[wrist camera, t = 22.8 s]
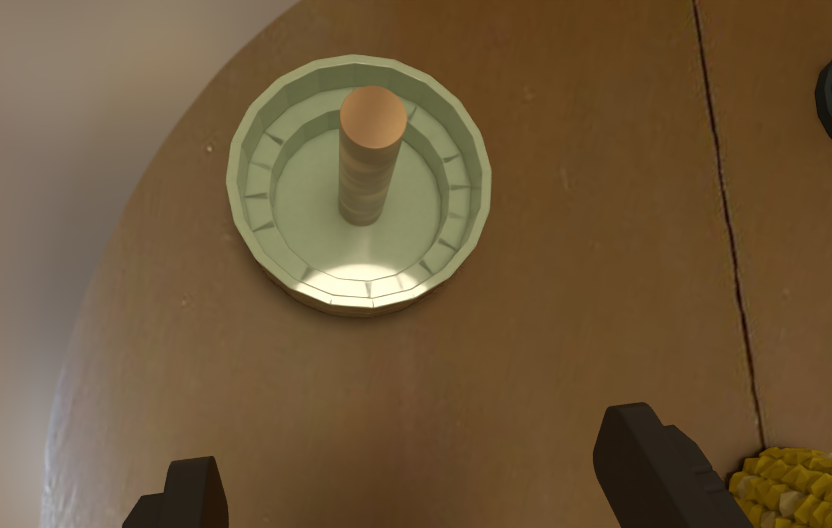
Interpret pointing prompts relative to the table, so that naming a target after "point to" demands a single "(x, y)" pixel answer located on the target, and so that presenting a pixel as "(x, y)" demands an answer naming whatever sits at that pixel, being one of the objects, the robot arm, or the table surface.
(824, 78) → the mug
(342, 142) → the stick
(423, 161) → the bowl
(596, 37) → the table surface
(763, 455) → the food
